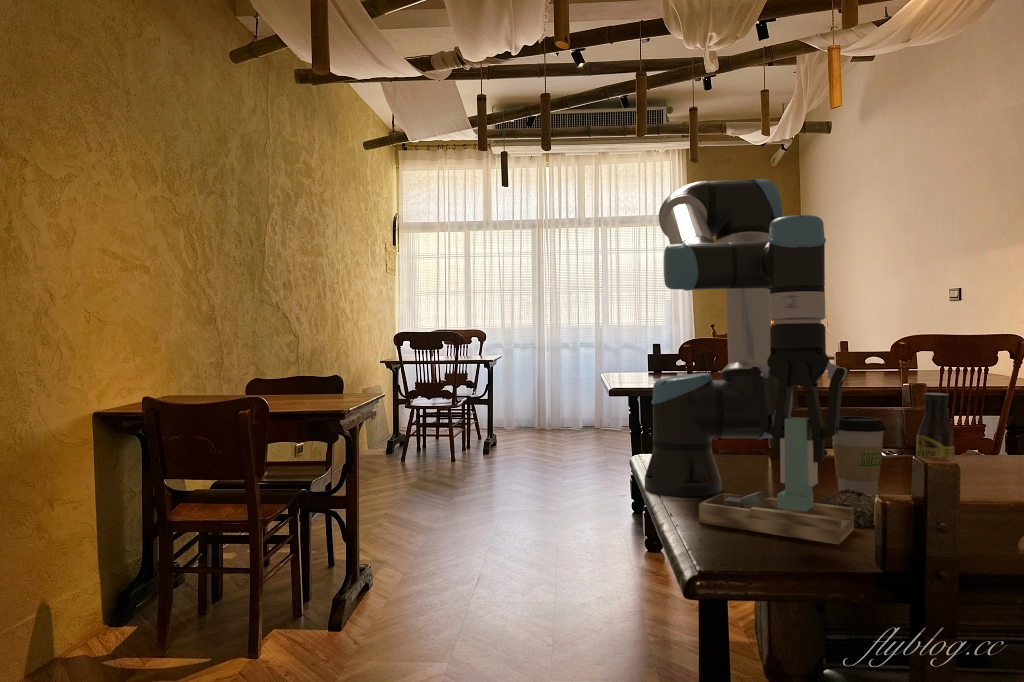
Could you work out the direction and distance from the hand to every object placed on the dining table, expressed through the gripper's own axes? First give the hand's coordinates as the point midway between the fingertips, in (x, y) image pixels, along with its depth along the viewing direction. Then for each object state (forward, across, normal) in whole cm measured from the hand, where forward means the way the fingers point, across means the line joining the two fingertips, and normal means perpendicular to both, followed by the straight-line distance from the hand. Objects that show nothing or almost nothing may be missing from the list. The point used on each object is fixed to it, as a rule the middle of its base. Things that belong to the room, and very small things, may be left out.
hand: (799, 482), depth 102 cm
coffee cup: (+9, 0, +40) cm, 41 cm away
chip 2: (+6, -10, +9) cm, 14 cm away
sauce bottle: (+9, +12, +47) cm, 50 cm away
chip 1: (+7, -13, +9) cm, 17 cm away
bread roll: (+10, +2, +23) cm, 25 cm away
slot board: (+9, -6, +9) cm, 14 cm away
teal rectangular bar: (+4, 0, 0) cm, 4 cm away
